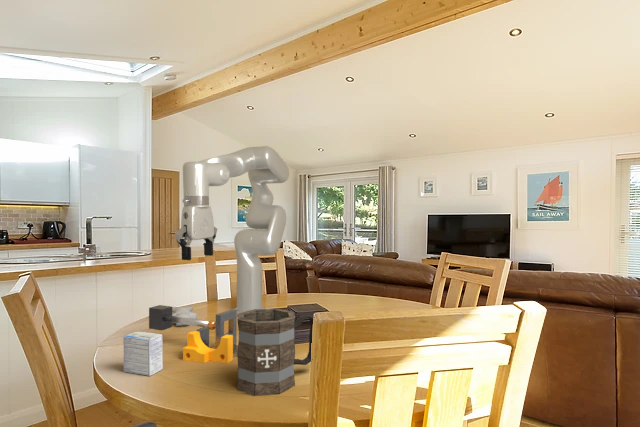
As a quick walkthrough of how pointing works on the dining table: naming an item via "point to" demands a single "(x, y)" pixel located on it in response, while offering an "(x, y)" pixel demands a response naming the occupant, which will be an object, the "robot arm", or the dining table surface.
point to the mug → (268, 350)
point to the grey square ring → (222, 329)
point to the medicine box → (143, 353)
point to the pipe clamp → (207, 349)
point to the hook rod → (173, 319)
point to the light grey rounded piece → (184, 313)
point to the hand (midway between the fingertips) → (198, 257)
